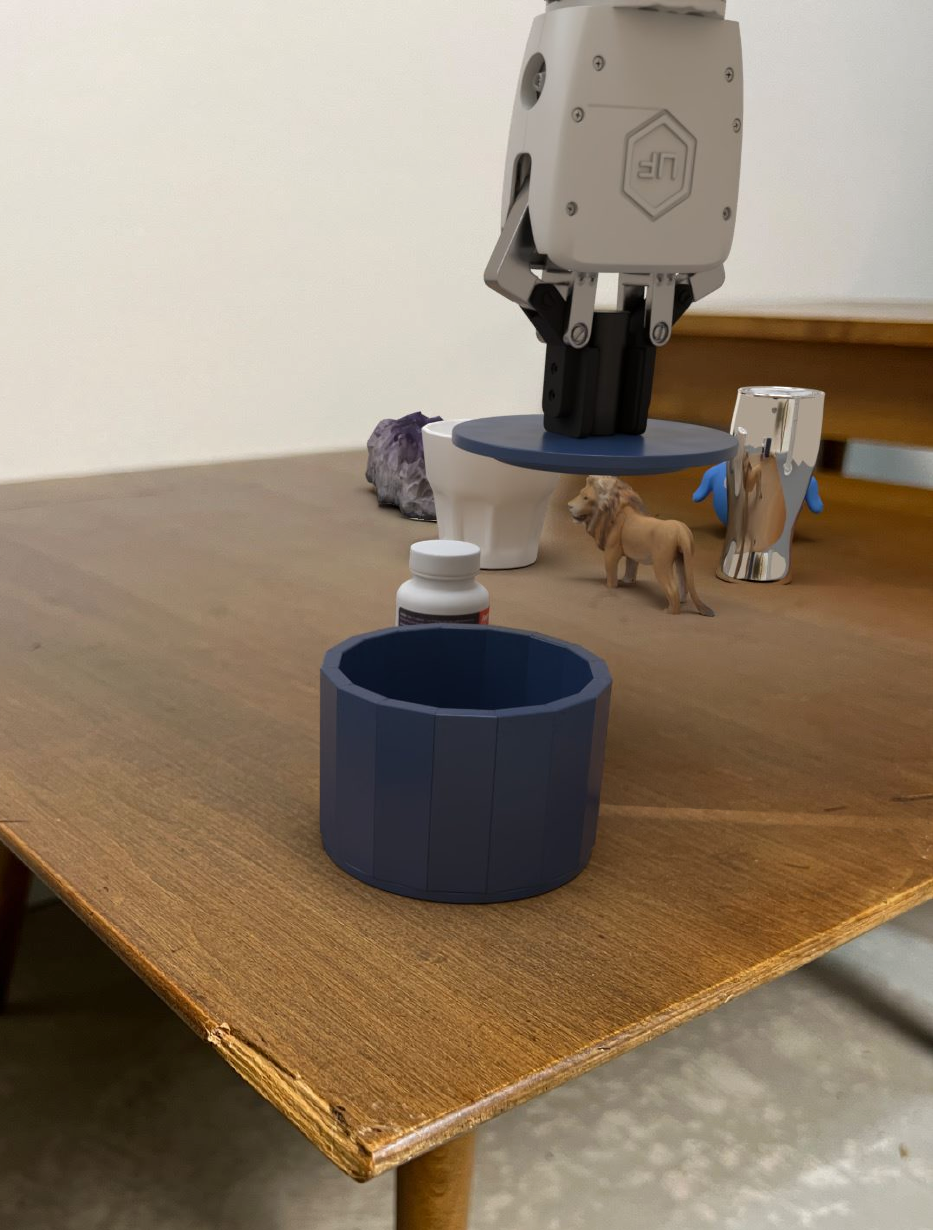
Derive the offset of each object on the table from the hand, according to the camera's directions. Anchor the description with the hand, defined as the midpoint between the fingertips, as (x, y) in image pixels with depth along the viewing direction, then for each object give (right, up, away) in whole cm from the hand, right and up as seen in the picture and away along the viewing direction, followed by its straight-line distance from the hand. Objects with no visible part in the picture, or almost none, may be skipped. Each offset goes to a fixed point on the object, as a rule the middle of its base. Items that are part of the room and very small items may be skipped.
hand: (593, 429), depth 59 cm
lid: (0, -1, 0) cm, 1 cm away
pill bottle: (-6, -13, +14) cm, 20 cm away
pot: (-7, -20, -2) cm, 21 cm away
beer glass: (+22, 0, +43) cm, 49 cm away
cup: (0, +2, +48) cm, 48 cm away
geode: (-4, +12, +71) cm, 72 cm away
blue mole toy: (+26, +6, +57) cm, 63 cm away
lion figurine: (+10, -3, +37) cm, 38 cm away
